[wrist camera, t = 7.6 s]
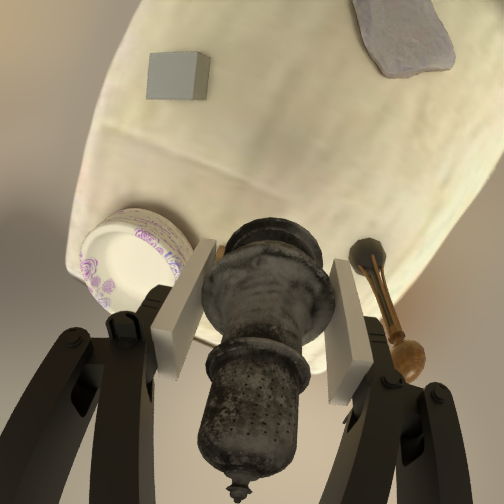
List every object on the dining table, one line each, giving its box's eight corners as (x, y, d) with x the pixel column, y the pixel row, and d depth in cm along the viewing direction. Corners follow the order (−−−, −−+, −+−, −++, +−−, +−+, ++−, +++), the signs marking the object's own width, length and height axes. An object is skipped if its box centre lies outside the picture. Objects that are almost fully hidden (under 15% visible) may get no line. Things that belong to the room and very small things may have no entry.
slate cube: (210, 57, 28) (197, 51, 24) (206, 99, 30) (192, 99, 26) (168, 58, 28) (150, 53, 24) (164, 98, 31) (146, 99, 26)
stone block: (378, 85, 29) (452, 69, 24) (382, 84, 25) (465, 67, 20) (337, -1, 24) (412, -18, 20) (334, -14, 20) (418, -31, 16)
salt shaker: (290, 189, 14) (274, 452, 4) (346, 279, 16) (381, 507, 6) (196, 247, 16) (86, 456, 6) (258, 321, 18) (222, 520, 8)
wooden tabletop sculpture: (359, 281, 39) (391, 408, 22) (335, 262, 38) (359, 393, 21) (390, 252, 36) (446, 372, 19) (367, 231, 35) (419, 352, 18)
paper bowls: (90, 235, 41) (60, 261, 34) (156, 176, 35) (126, 197, 28) (152, 308, 46) (133, 343, 39) (227, 268, 41) (214, 306, 34)
